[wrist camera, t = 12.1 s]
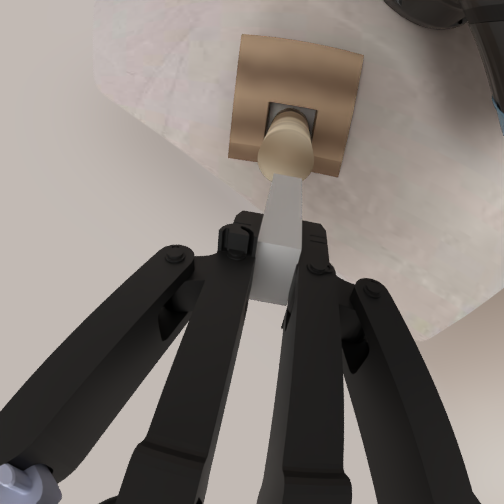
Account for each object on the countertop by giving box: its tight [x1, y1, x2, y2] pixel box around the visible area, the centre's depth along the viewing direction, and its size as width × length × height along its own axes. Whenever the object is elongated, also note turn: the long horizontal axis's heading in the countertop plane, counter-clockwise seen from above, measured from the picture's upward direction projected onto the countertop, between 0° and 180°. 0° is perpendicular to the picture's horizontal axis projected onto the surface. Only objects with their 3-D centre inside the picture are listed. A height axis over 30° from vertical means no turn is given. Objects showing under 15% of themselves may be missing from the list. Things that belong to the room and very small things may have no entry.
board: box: [228, 34, 364, 177], centre depth 32 cm, size 16×14×3 cm
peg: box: [258, 108, 314, 182], centre depth 28 cm, size 4×4×16 cm
